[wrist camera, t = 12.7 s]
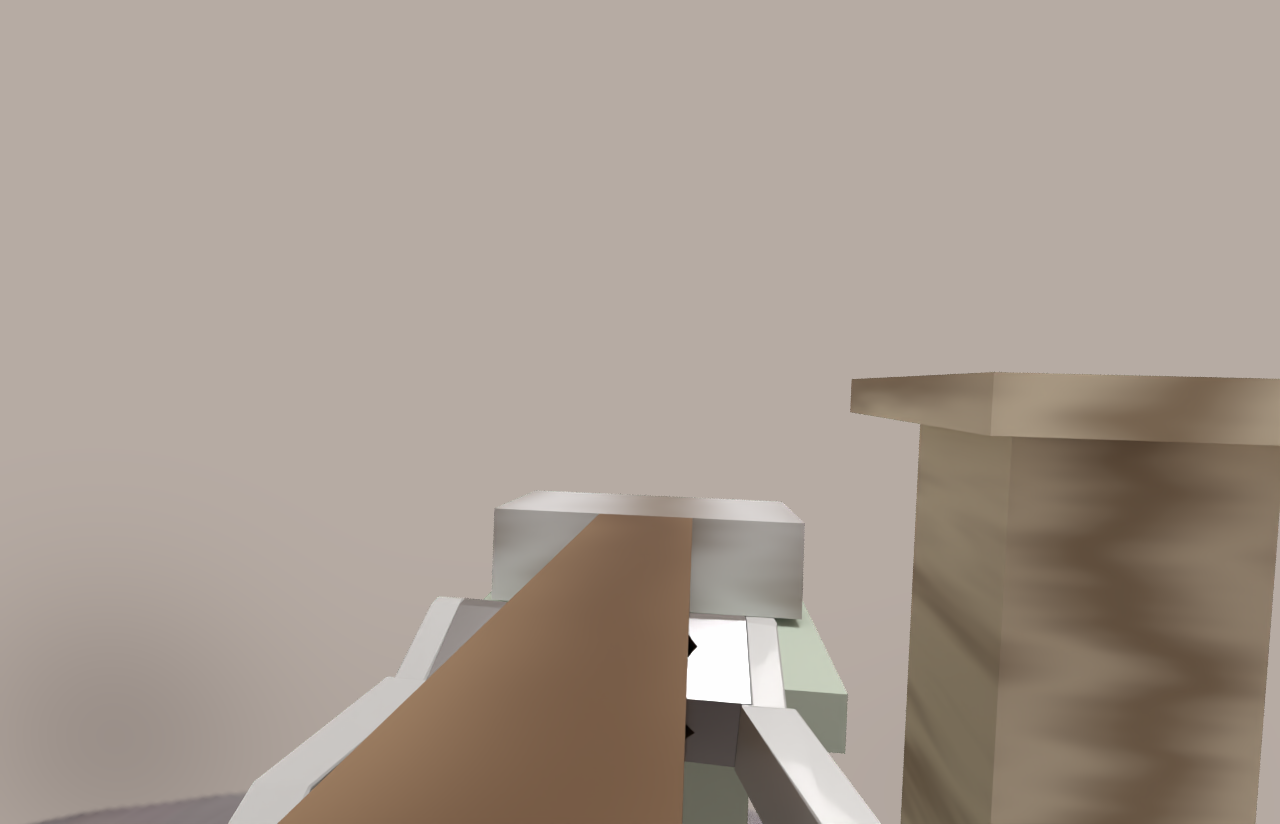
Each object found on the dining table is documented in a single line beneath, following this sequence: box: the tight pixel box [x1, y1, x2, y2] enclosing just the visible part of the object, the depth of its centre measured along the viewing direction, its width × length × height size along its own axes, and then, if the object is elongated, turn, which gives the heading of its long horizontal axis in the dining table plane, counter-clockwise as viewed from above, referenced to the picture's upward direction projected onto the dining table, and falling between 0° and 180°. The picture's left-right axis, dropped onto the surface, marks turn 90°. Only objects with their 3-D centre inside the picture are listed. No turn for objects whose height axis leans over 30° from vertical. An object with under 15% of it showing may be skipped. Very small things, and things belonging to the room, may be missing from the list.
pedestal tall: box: [850, 372, 1280, 824], centre depth 20 cm, size 11×13×26 cm
